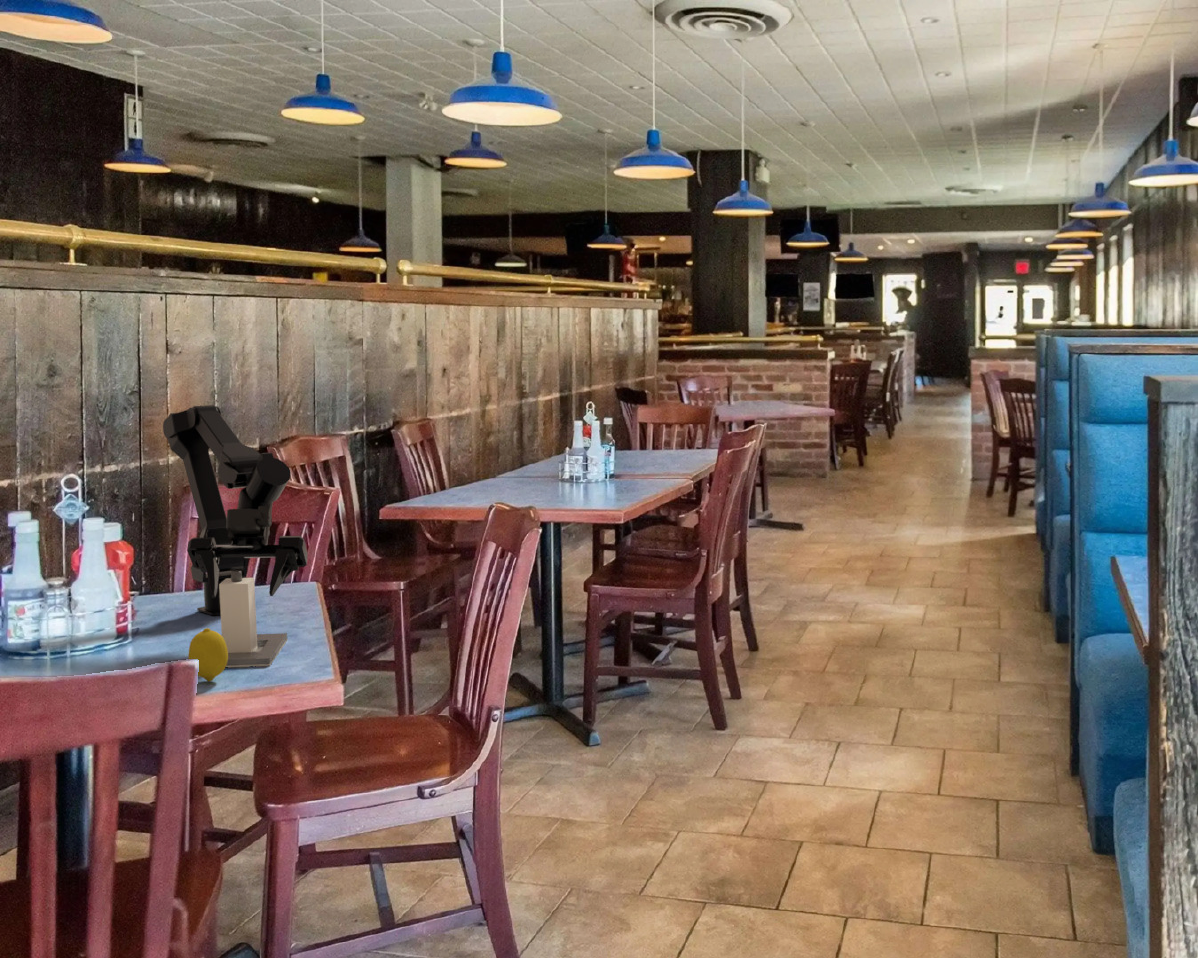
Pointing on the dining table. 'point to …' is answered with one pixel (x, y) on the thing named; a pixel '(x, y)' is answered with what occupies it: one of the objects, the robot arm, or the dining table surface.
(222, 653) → the lemon
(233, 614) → the beige carton with cap
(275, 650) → the socket plate
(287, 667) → the dining table surface
